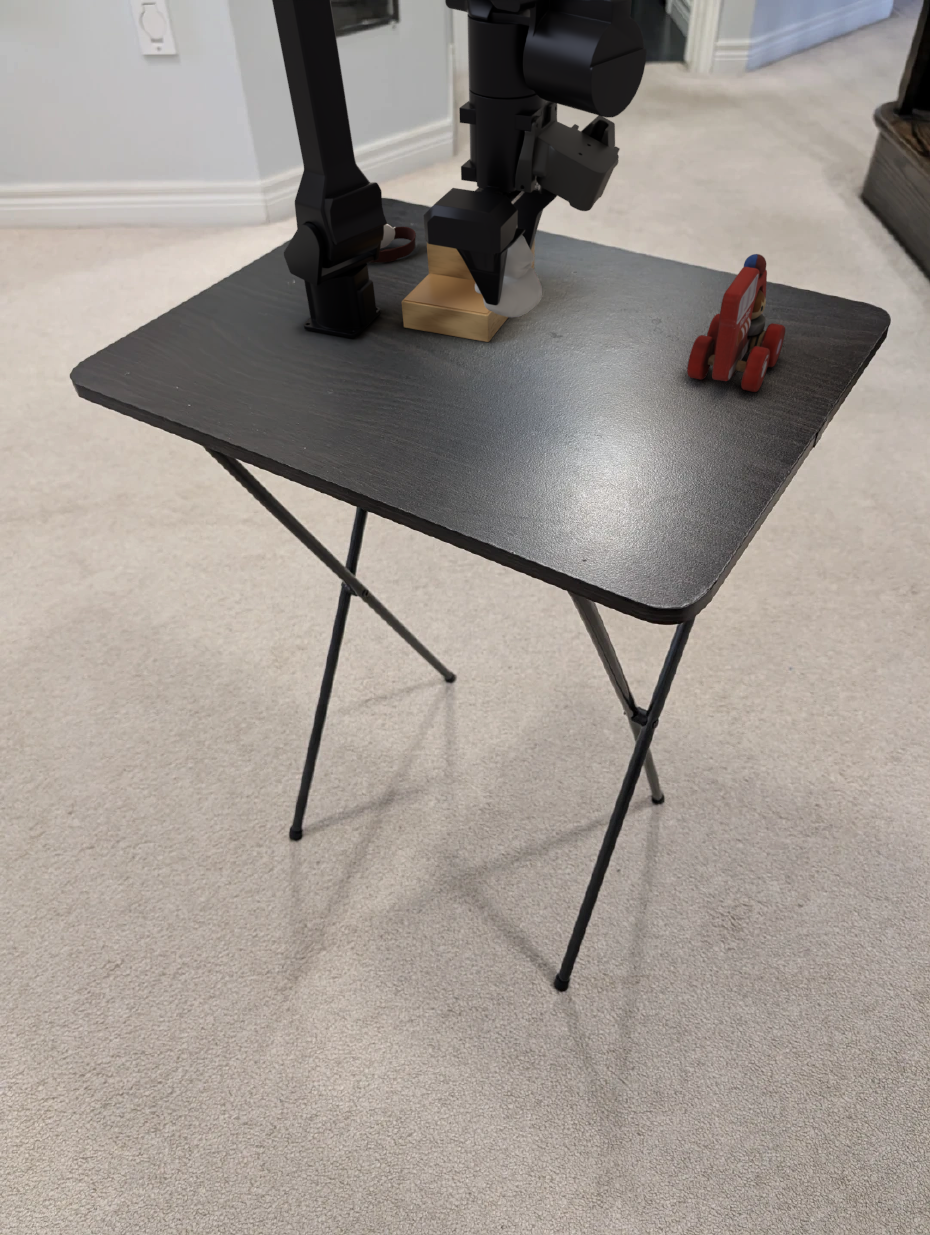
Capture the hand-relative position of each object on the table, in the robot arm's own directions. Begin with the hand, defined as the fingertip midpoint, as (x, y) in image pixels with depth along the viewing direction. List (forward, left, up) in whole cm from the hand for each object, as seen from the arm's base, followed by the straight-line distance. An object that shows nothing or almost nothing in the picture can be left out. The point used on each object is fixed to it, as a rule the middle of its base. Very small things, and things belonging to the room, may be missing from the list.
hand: (505, 289), depth 77 cm
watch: (-26, +27, -12) cm, 39 cm away
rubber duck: (0, 0, -2) cm, 2 cm away
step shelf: (-11, +18, -12) cm, 24 cm away
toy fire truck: (+19, +14, -12) cm, 26 cm away
